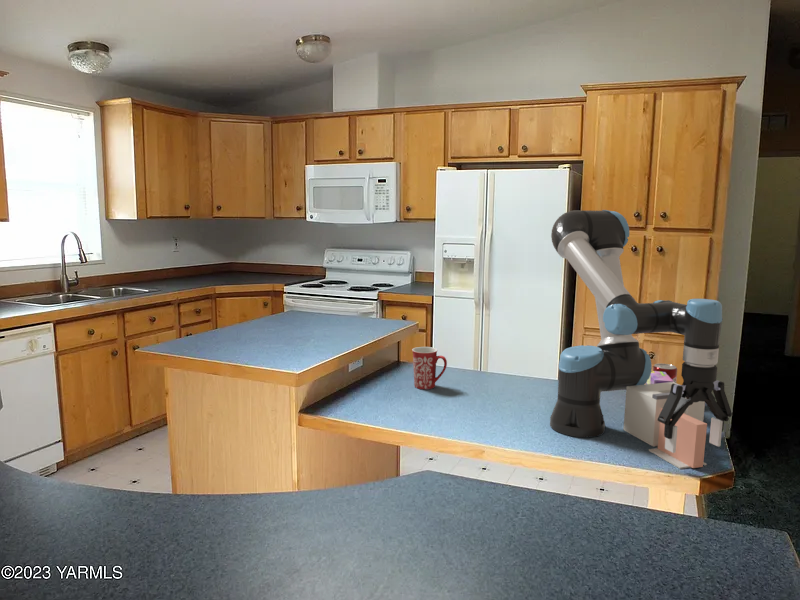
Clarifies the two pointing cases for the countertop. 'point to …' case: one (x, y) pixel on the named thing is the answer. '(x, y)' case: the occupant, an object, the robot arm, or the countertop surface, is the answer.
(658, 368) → the soda can
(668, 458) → the mat
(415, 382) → the mug
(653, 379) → the box
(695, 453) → the salmon pink slab
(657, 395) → the dispenser
